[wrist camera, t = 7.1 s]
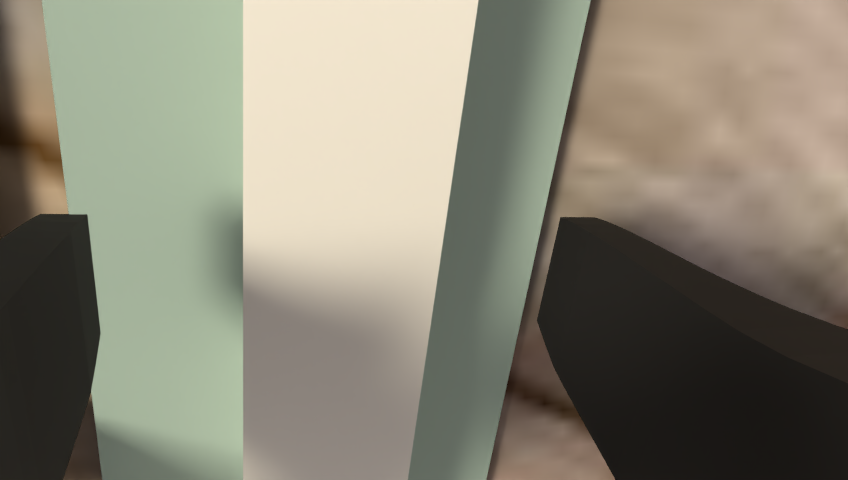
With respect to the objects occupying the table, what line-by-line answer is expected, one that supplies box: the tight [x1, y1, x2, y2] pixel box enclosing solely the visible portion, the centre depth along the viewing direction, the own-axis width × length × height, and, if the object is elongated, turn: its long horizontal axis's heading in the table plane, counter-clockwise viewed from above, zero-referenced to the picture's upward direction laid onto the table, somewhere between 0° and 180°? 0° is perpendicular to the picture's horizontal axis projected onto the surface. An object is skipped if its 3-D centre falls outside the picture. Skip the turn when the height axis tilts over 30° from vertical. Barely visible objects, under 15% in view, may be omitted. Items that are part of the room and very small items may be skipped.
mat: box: [42, 0, 591, 480], centre depth 14 cm, size 20×9×1 cm, turn 173°
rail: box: [243, 0, 478, 480], centre depth 13 cm, size 20×3×3 cm, turn 173°
